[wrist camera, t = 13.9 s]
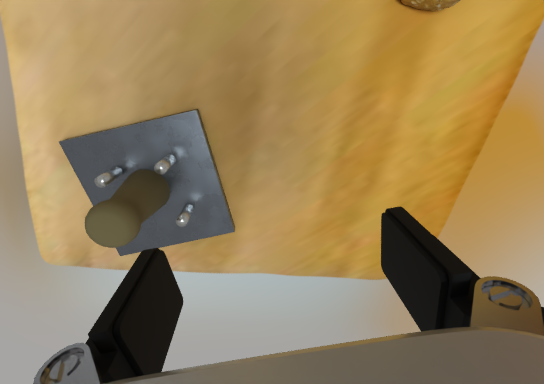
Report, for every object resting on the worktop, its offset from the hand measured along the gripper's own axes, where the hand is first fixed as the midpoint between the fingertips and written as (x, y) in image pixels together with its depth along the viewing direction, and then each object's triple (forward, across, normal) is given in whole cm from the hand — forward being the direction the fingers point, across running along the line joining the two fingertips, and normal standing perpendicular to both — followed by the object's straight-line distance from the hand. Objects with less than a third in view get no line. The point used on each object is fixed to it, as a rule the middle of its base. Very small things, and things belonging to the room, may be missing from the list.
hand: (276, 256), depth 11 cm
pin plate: (+26, +16, +5) cm, 31 cm away
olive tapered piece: (+25, +17, +5) cm, 31 cm away
